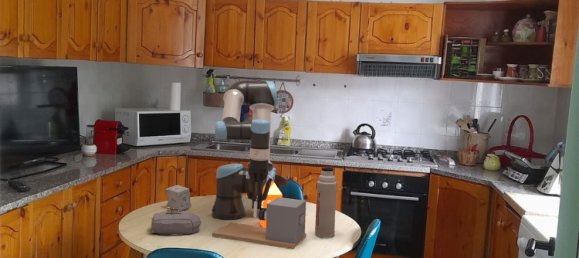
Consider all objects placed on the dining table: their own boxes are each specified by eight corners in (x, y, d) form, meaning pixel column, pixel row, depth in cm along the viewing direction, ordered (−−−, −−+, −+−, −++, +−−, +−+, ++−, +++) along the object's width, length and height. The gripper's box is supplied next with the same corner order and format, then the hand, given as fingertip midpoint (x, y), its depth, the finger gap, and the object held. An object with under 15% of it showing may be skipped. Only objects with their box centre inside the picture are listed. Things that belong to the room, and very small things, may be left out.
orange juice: (263, 228, 224) (264, 182, 221) (259, 222, 232) (260, 178, 230) (281, 228, 226) (283, 182, 223) (277, 222, 234) (278, 177, 232)
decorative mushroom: (286, 207, 259) (287, 177, 257) (263, 206, 259) (264, 176, 257) (286, 202, 270) (287, 173, 268) (265, 201, 270) (266, 172, 268)
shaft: (258, 221, 210) (258, 209, 209) (263, 218, 215) (263, 206, 214) (301, 227, 204) (301, 214, 203) (305, 224, 209) (305, 211, 208)
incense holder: (164, 208, 250) (164, 186, 249) (179, 205, 256) (179, 184, 255) (176, 212, 244) (176, 190, 243) (191, 209, 250) (191, 187, 249)
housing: (212, 236, 211) (213, 198, 210) (230, 225, 226) (231, 190, 225) (292, 249, 200) (294, 208, 198) (306, 237, 215) (307, 199, 213)
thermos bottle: (316, 237, 214) (319, 169, 211) (313, 231, 222) (316, 165, 219) (335, 238, 215) (338, 170, 212) (332, 232, 223) (335, 166, 220)
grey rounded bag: (149, 236, 209) (200, 236, 212) (149, 216, 208) (201, 216, 211) (153, 225, 224) (201, 225, 226) (153, 206, 223) (202, 206, 225)
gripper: (240, 158, 209) (237, 216, 211) (270, 162, 204) (267, 221, 207) (248, 155, 216) (245, 212, 218) (277, 159, 211) (274, 216, 214)
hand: (256, 216), depth 213 cm, fingers closed
